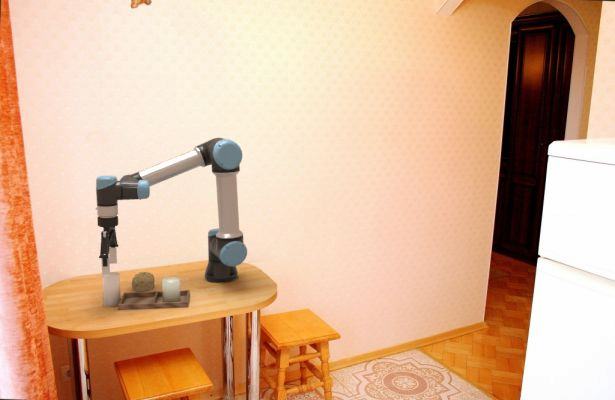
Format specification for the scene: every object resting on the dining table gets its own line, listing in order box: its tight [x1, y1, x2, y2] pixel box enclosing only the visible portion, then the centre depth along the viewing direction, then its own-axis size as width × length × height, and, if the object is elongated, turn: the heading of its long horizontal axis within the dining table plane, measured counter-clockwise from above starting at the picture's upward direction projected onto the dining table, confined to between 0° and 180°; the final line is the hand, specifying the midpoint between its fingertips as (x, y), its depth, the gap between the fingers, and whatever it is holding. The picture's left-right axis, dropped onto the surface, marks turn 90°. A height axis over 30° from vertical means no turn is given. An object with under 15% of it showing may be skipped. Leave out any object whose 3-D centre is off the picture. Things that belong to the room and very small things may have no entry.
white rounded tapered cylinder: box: [101, 271, 122, 308], centre depth 207 cm, size 6×6×12 cm
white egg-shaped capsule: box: [161, 276, 181, 303], centre depth 208 cm, size 7×7×9 cm
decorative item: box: [131, 271, 155, 292], centre depth 223 cm, size 10×10×10 cm
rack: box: [117, 289, 191, 311], centre depth 208 cm, size 26×13×3 cm, turn 99°
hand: (109, 268), depth 206 cm, fingers open, 13 cm apart
